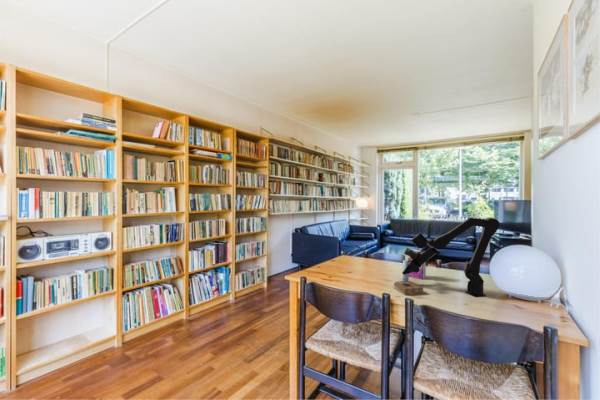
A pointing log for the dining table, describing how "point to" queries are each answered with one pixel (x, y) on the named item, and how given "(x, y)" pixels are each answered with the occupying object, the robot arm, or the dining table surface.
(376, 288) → the dining table surface
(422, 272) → the candy bar box
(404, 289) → the hole block
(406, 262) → the peg
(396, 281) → the mat
